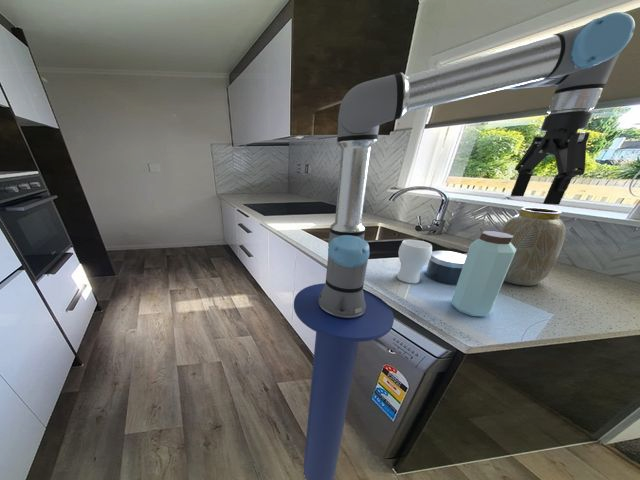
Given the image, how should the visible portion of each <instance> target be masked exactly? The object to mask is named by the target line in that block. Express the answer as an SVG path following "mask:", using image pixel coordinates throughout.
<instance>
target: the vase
mask: <svg viewBox="0 0 640 480" xmlns="http://www.w3.org/2000/svg"><path fill="white" fill-rule="evenodd" d="M561 215H562V211H560V210H558V209H557V210H556V209H550V208H542V207H522V208H520V211H519V214H516V215H514V216H511V218H509V219H507V220H506V222H505V223H504V224H503V225H502V226H501V229H500V230H499V232H502V233H507V234H510V235H513V238H512V240H511V243H512V245H513V246H514V247H515V248H516V249H517V250H516V252H515V255H514V257H513V259H512V262H511V264H510V267H509V269H508V271H507V274H506V276H505V279H504V281H503V282H505V283H508V284H512V285H518V286H525V287H526V286H527V287H529V286H531V287H532V286H536V285H538V284H540V283H541V282H543V281H544V280H546V279H547V278H548V277H549V275H550V274H551V272H552V270H553V268H554V266H555V265H556V262H557V261H558V259H559V256H560V253H561V251H562V248H563V245H564V242H565V239H566V233H567V229H566V225H565V223H564V222H563V220H562V219H560V217H561Z"/></svg>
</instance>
